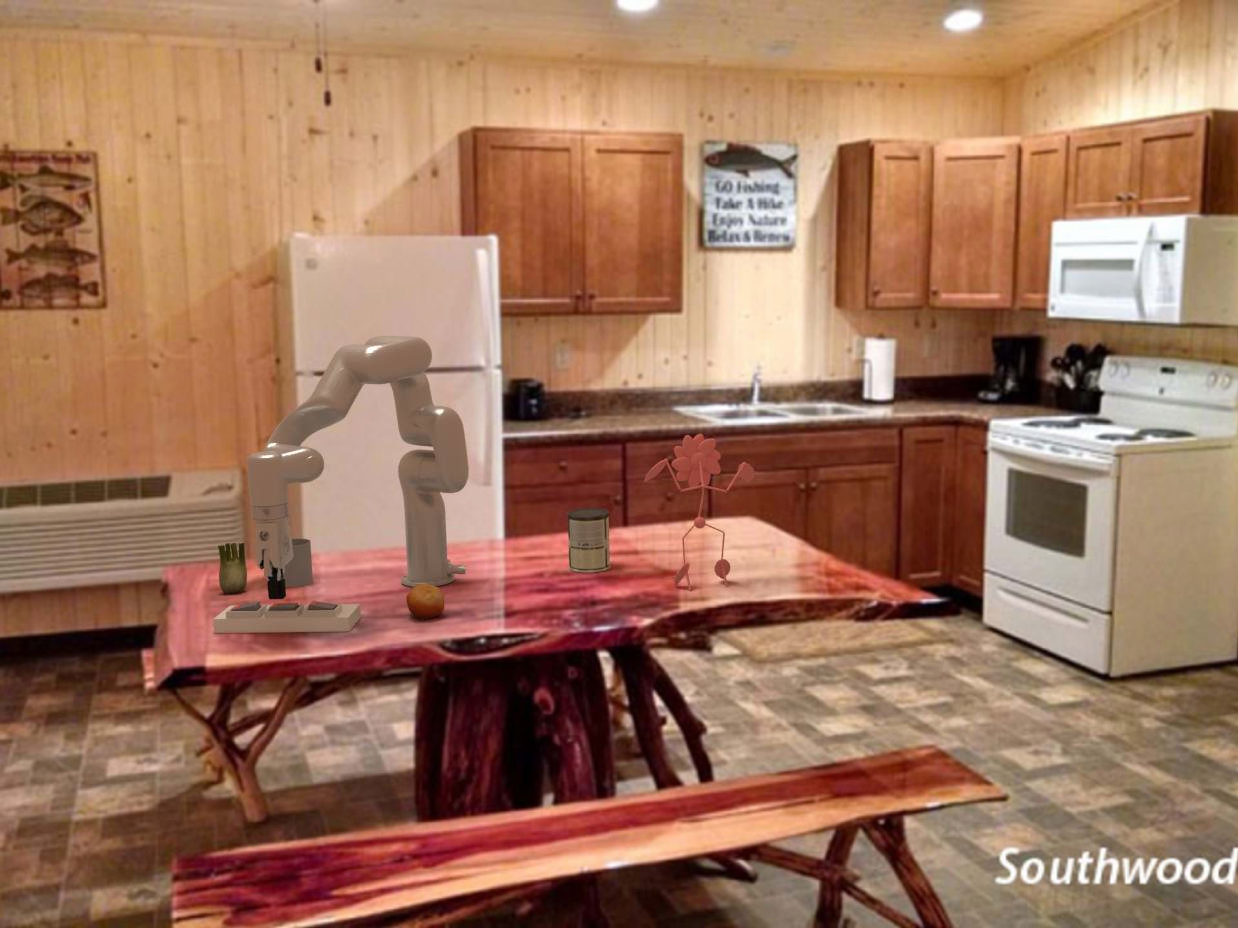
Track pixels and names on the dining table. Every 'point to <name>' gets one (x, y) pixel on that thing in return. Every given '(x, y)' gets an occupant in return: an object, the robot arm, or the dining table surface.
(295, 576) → the cup
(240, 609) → the rocker
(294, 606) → the rocker middle
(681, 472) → the figurine
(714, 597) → the dining table surface
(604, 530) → the coffee can
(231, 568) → the fennel bulb
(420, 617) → the fruit
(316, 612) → the power strip
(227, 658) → the dining table surface
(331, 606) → the rocker
